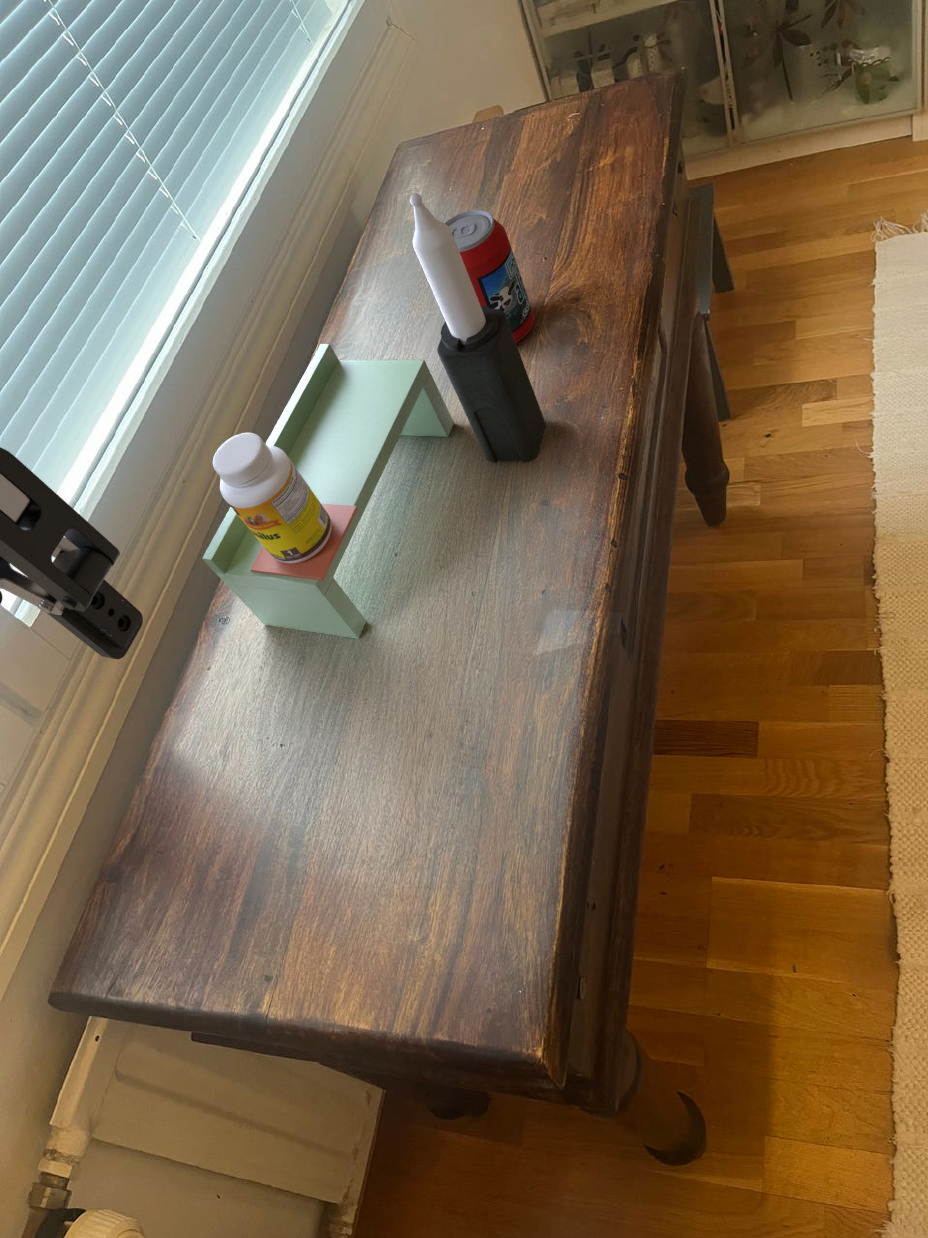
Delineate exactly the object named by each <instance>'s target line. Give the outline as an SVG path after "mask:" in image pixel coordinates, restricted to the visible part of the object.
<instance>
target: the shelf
mask: <svg viewBox="0 0 928 1238" xmlns="http://www.w3.org/2000/svg"><path fill="white" fill-rule="evenodd" d="M439 390H440V389H439V388H438V386H437V383H436V382H435V379H434V378H433V376H432V373H431V371H430V368H429V366H428V365H427V362H426V360H425V359H353V360H352V359H351V360H350V359H349V360H348V359H345V360H342V359H341V360H340V359H339V357H338V356H337V354H336V353H335V351H334V348H333V346H331V344H330V343H320V344H319V347H318V349H317V350H316V352H315V354H314V355H313V357H312V359H311V361H310V363H309V365H308V366H307V368H306V369H305V372H304V374H303V375H302V377H301V379H300V380H299V383H298V384H297V386H296V388H295V389H294V392H293V393H292V395H291V397H290V399H289V400H288V402H287V404H286V406H285V408H284V409H283V412H282V414H281V415H280V417H279V419H278V420H277V422H276V424H275V425H274V428H273V430H272V432H271V433H270V435H269V436H268V439H267V440H266V442H265V444H266V445H271V446H275V447H278V448H280V449H281V450H282V451H284V453H285V454H286V455H287V456H288V457H289V459H290V460H291V462H292V463H293V464H294V466H295V467H296V469H297V470H298V472H299V473H300V474H301V476H302V477H303V479H304V480H305V481H306V483H307V484H308V486H309V487H310V488H311V490H312V491H313V493H314V494H315V496H316V497H317V498H318V500H319V501H320V503H321V504H322V506H323V507H324V509H325V510H326V511H327V513H328V515H329V516H330V519H331V524H332V529H331V534H330V537H329V539H328V541H327V543H326V544H325V546H324V547H323V548H322V549H321V550H320V551H319V552H318V553H317V554H316V555H314V556H313V557H311V558H309V559H307V560H305V561H302V562H298V563H284V562H281V561H278V560H277V559H275V558H274V557H273V556H272V555H271V554H270V553H269V552H268V551H267V549H266V548H265V547H264V546H263V545H262V543H261V542H260V541H259V540H258V539H257V538H256V536H255V535H254V534H253V533H252V532H251V530H250V529H249V528H248V527H247V526H246V524H245V523H244V522H243V521H242V520H241V518H240V517H239V516H238V515H237V514H236V512H235V511H234V510H233V509H232V508H231V506H229V509H228V511H227V512H226V515H225V516H224V518H223V520H222V522H221V524H220V525H219V527H218V529H217V530H216V533H215V535H214V536H213V538H212V540H211V541H210V544H209V546H208V547H207V549H206V551H205V552H204V554H203V555H202V557H201V559H202V560H203V561H204V563H205V564H206V565H207V566H208V567H209V568H210V569H211V570H212V571H213V572H214V573H215V575H217V576H218V577H219V579H220V580H221V581H222V582H223V583H224V584H225V585H226V586H227V587H228V589H229V590H231V592H233V594H234V595H236V597H237V598H238V599H239V600H240V601H241V602H242V603H243V604H244V605H245V606H246V607H247V609H249V610H250V612H251V613H252V614H253V615H254V616H255V617H256V618H257V619H258V620H259V621H260V622H261V623H262V624H263V625H264V626H272V627H279V628H283V629H291V630H298V631H304V632H311V633H317V634H324V635H332V636H337V637H343V638H351V639H360V637H361V634H362V632H363V631H364V628H365V625H366V623H367V619H366V618H365V617H364V615H363V614H362V612H361V611H360V610H359V609H358V608H357V606H356V605H355V604H354V602H353V601H352V600H351V598H350V597H349V596H348V595H347V593H346V592H345V591H344V589H343V588H342V586H340V584H339V583H338V582H337V580H336V579H335V578H334V576H335V574H336V572H337V569H338V567H339V565H340V564H341V561H342V559H343V557H344V555H345V553H346V551H347V549H348V547H349V545H350V542H351V541H352V538H353V536H354V534H355V532H356V530H357V527H358V525H359V523H360V521H361V519H362V517H363V515H364V513H365V511H366V509H367V506H368V505H369V502H370V500H371V498H372V496H373V494H374V492H375V489H376V487H377V485H378V483H379V481H380V479H381V477H382V474H383V473H384V470H385V469H386V466H387V464H388V462H389V460H390V458H391V455H392V453H393V451H394V449H395V447H396V446H397V443H398V441H399V439H400V437H401V436H410V437H411V436H412V437H439V438H441V437H443V438H444V437H445V438H448V437H449V436H450V434H451V431H452V429H453V427H454V425H455V421H454V419H453V417H452V415H451V413H450V411H449V409H448V407H447V404H446V402H445V400H444V398H443V395H442V394H441V392H440V391H439Z"/></svg>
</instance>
